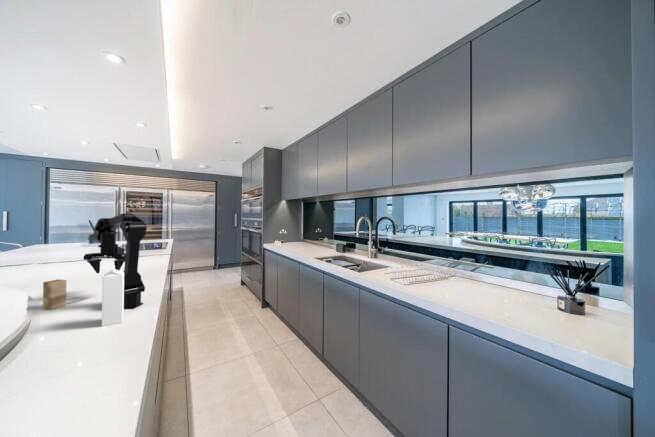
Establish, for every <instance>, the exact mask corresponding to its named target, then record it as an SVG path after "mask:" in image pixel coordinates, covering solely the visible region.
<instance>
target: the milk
mask: <svg viewBox="0 0 655 437" xmlns="http://www.w3.org/2000/svg"><path fill="white" fill-rule="evenodd" d="M101 278H102V280H101V281H102V282H101V283H102V288H101V289H102V290H101V327H106V326H112V325H116V324H122V323H123V320H124V313H125V312H124V311H125V310H124V271H121V270H120V271H119V270H116V269H115V265H113V267H112V270H110V271H108V272H107V273H105V274H103V276H102V277H101Z"/></svg>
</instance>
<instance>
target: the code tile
mask: <svg viewBox="0 0 655 437" xmlns="http://www.w3.org/2000/svg"><path fill="white" fill-rule="evenodd" d="M90 299H91V298H90V297H79V296H73V297H70V298H66V305H67V306H68V305H72V304H76V303H80V302H84V301H86V300H90Z"/></svg>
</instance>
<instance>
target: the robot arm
mask: <svg viewBox="0 0 655 437" xmlns="http://www.w3.org/2000/svg"><path fill="white" fill-rule="evenodd" d="M118 228H120V230H121V231H122V236H123V237H124V239H125V240H126V246H125V248H123V247H121V246H120V247H119V244H118V243H117V241H116V240H117V239H116V238H117V234H118V232H117V231H116V230H117V229H118ZM93 229H94V232H93V234H92V235H91V239H92V240H93V241H95V242H99V243H100V244H99V245H98V246H97V248H100V250H99V251H100V252H91V253H85V254H84V256H83V260H84V261H85V262H87V263H88V264H89V265H90V266H91V267H92V268H93V270H94V271H95V273H96V274H100V271H101V261H102V260H103V259H114V260H113V263H114V266H115V269H116V270H119V271H121V269H122V266H123V265H124V270H123V272H124V309H125V310H127V309H128V310H130V309H136V308H137V307H140V306H142V305H143V304H144V302H142V293H143V292H146V287H145V284H144V282H143V280H142V275H141V274H140V273H139V272H138V267H139V258H140V246H141V241H142V240H143V239H144V237H145V236H146V232H147V230H148V226H147V224H146V223H145V222H144V220H142V219H141V218H139V217H137V216H136V215H135V214H134V213H121V214H118V215H116V216H113V217H109V218H108V217H102V218H101V217H100V218H99V219H98V220H97V222H96V224H95V226H94V228H93Z"/></svg>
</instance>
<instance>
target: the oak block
mask: <svg viewBox="0 0 655 437" xmlns="http://www.w3.org/2000/svg"><path fill="white" fill-rule="evenodd" d="M42 288H43V290H42V309H43V310H49V311H53V310H56V309H59V308H63V307H67V304H66V299H67V279H54V280H49V281H44V282H43V283H42Z"/></svg>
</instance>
